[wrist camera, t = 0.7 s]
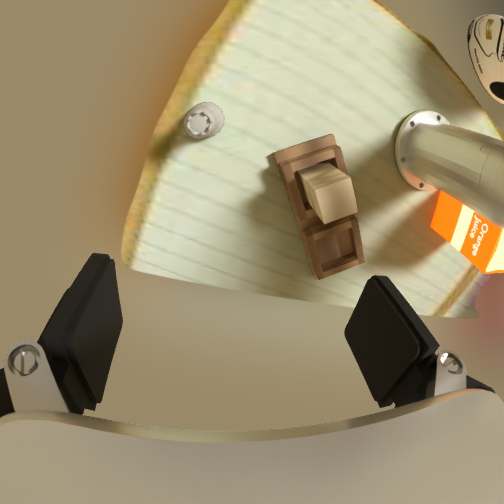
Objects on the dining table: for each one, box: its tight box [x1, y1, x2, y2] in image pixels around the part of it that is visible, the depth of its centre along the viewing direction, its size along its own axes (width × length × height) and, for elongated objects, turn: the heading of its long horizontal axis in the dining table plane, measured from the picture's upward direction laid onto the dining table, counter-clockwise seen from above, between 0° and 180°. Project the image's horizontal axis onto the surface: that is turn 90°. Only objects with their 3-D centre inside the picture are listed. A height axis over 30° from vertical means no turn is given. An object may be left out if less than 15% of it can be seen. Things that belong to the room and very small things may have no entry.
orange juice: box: [430, 191, 504, 273], centre depth 30 cm, size 8×9×20 cm
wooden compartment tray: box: [273, 134, 365, 280], centre depth 34 cm, size 8×20×9 cm, turn 21°
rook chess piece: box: [183, 102, 225, 139], centre depth 27 cm, size 4×4×8 cm
